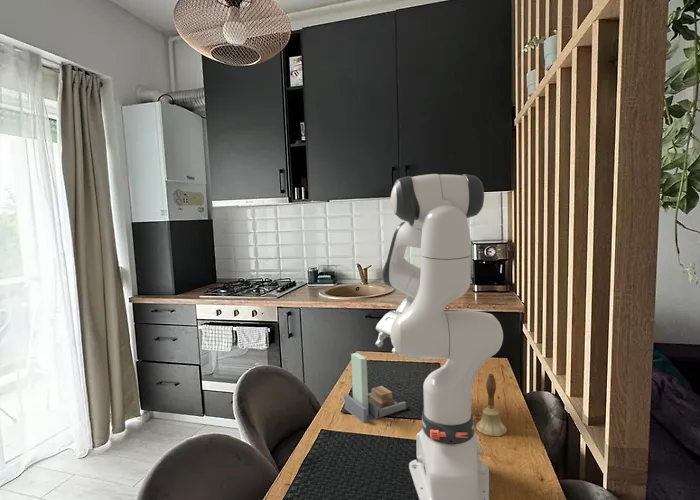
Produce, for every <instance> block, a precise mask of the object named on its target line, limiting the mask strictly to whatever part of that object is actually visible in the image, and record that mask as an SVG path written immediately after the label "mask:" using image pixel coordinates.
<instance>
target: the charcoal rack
mask: <svg viewBox="0 0 700 500" xmlns="http://www.w3.org/2000/svg"><path fill="white" fill-rule="evenodd" d="M371 395H372V392H368V411H369V415H367V414H366V408H365V407H364V406H362V405H361V404H360V403H358V402H357V401H356V400H354V399H353V396H350V394H348V393H345V394H344V395H343V398H344V406H343V409H345V410H346V411H347V412H348V413H350V415H352V416H353V417H355V419H357V420H358V421H359V422H360V423H362V424H363V423H367V422H371V421H373V420H377V419H378V418H379V419H380V418H382V417H385V416H388V415H392V414H395V413H398V412H400V411H404V410H406V409H407V403H406V401H400V402H396V401H395V404H394V405H391V406H387V407H384V408H381V409H378V405H377V404H375V403H374V402H373V401H371V400H370V396H371Z"/></svg>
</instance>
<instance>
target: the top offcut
mask: <svg viewBox="0 0 700 500" xmlns="http://www.w3.org/2000/svg"><path fill="white" fill-rule="evenodd" d="M370 389H371V393H372V397H374V398H375V399H377V400H378V401H380V402H381V403H384V402H387V401H390V400H392V399H393V392H392V391H391V390H389V389H388V388H386V387H384V386H383V385H379V386H376V387H372V388H370Z"/></svg>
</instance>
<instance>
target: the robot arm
mask: <svg viewBox="0 0 700 500" xmlns="http://www.w3.org/2000/svg"><path fill="white" fill-rule="evenodd" d="M484 201H485V190H484V185H483V182H482V181H481V180H480V179H479V177H477V176H476V175H473V174H466V173H463V174H445V173H444V174H443V173H442V174H438V173H430V174H422V175H421V174H420V175H415V176H411V175H408V176H404V177H400V178H398V179H396V181H395V182H394V183H393V187H392V190H391V193H390V204H391V207H392V209H393V211H394V214H395V215H396V216H397V217H398V218H399V219H400V221H401V220H402V221H403V222H401V223H400V224H398V226H397V227H396V228H395V231H394V233H393V236H392V239H391V243H390V247H389V250H388V254H387V259H386V262H385V264H384V266H383V268H382V271H381V276H382V277H381V278H382V280H383V282H384V284H385V285H386V286H388V287H391V288H393V289H396V290H397V291H399V292H401V293H403V294H405V295H406V297H405V298H403V300H402V302H401V303H400V304H399V306H398V307H397V309H396V310H394V309H393V310H390V311H388V312H387V313H385V314H384V315H383V317H382V318H381V319H380V320H379V321H378V322H377V324H376V326H375V330H376V331H377V332H378V336H377V337H378V338H377V340H376V342H375V345H376V346H377V347H378V348H382V346H383V345H384V342H383V341H384V339H386V338H389V339H390V341H391V345H392V346H393V348H392V350H391V353H392V354H393V355H394V356H399V355H400V356H401V357H407V358H411V359H419V360H424V359H425V360H429V359H430V360H432V359H435V360H436V359H437V360H440V359H443V360H444V359H446V361H445V363H444V364H443V365H442V366H440V367H439V368H437V369H435V370H433V371H431V372H430V373H429V374H428V375H427V377H425V379H424V381H423V385H422V386H423V389H422V390H423V394H422V395H423V409H422V413H421V425H422V426H421V427H422V429H421V430H420V431H419V432H418V433H416V459H413V460H411V461H410V462H409V463H408V469H409V472H410V475H411V478H412V481H413V485H414V487H415V491H416V493H417V496H418V500H490V469H489V466H488V465H487V463H486V462H483V460H480V456H483V448H480V437H479V435H478V434H477V433H475V428H474V427H475V423H474V422H475V421H474V415H473V413H472V396H473V395H472V394H473V386H474V381H475V379H476V376H477V374H478V373H479V371H480V369H481V368H482V367H483V365H484V364H485V363H486V362H487V361H488V360H490V358H492V357H493V356H494V355H496V354H497V353H498V352H499V351H500V349H501V347H502V344H503V341H504V331H503V327H502V325H501V323H500V321H499V320H498V318H497V317H496V316H495V315H494V314H492V313H488V312H483V311H479V310H445V309H446V308H447V306H448V305H449V304H450V303H452V302H453V301H455V300H457V299H459V298H461V297H462V296H464V295H465V294H466V293H467V292H468V290H469V288H470V287H471V277H472V276H471V273H472V272H471V268H472V267H471V266H472V264H471V261H472V259H471V258H472V257H471V256H472V255H471V254H472V252H471V250H472V249H471V246H472V245H471V235H470V228H469V222H468V218H472V217H475V216H477V215H478V214H479V213H480V212H481V211H482V209H483V207H484ZM407 247H408V248H409V247H412V248H417V249H420V267H418V266H416V265H414V264H413V263H411V262H409V261H408V260H406V258H405V254H406V250H407Z"/></svg>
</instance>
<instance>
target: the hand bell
mask: <svg viewBox="0 0 700 500" xmlns="http://www.w3.org/2000/svg"><path fill="white" fill-rule="evenodd" d="M485 384H486V385H485V387H486V393H487V399H488V400H487V407H484V408H483V409H482V415H481V419H480V420H479V421H478V422H477V423H476V425H475V429H476V430H477V432H479V433H481V434H483V435H486V436H488V437H500V436H501V437H502V436H503V435H505V434H507V430H508V429H507V427H506V425H505V424H504V423H503V422H502V419H501V416H500V410H498V409H497V408H495V394H496V391H497V382H496V378H495V376H494V374H493V373H489V374H488V377H487V379H486V383H485Z"/></svg>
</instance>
